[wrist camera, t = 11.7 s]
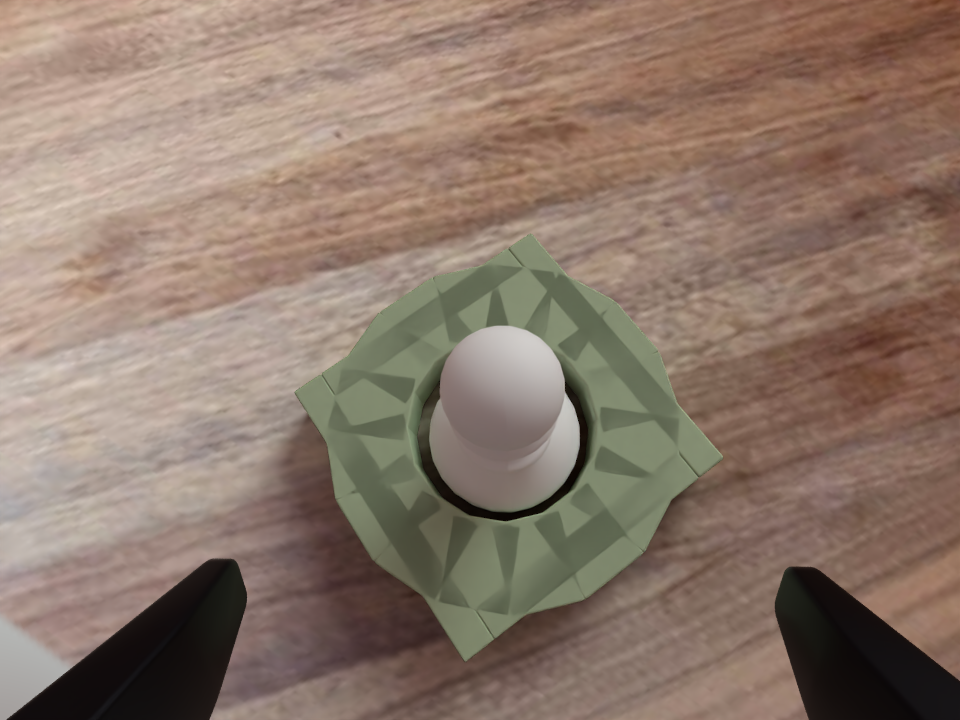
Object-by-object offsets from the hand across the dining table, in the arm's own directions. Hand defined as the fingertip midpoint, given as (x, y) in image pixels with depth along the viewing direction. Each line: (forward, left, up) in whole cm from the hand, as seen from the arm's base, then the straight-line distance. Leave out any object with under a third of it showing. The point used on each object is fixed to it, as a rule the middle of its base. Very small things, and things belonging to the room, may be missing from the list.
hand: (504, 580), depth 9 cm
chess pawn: (+2, +3, -10) cm, 11 cm away
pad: (+2, +3, -10) cm, 11 cm away
